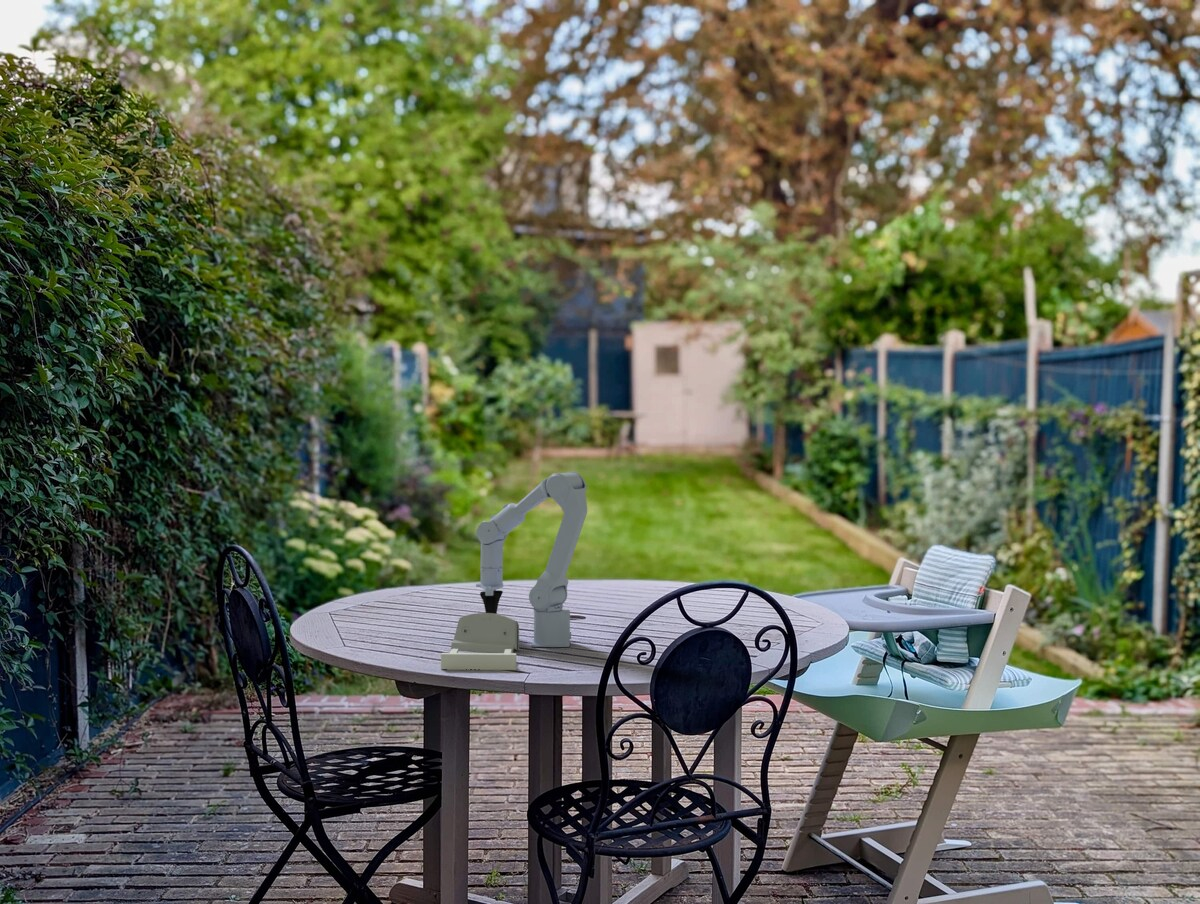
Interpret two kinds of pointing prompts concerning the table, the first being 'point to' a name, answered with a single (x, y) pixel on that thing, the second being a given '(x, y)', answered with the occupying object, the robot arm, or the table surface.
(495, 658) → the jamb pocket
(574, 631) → the table surface
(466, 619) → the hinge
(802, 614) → the table surface
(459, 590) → the table surface
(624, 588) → the table surface
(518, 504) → the robot arm
